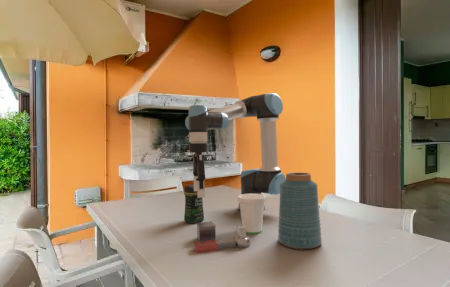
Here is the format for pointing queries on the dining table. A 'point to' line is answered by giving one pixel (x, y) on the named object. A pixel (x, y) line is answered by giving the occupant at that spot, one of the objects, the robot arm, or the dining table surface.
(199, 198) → the coffee jar
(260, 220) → the cup
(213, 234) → the grey wooden cube
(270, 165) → the robot arm
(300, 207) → the vase
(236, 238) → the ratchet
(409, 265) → the dining table surface
